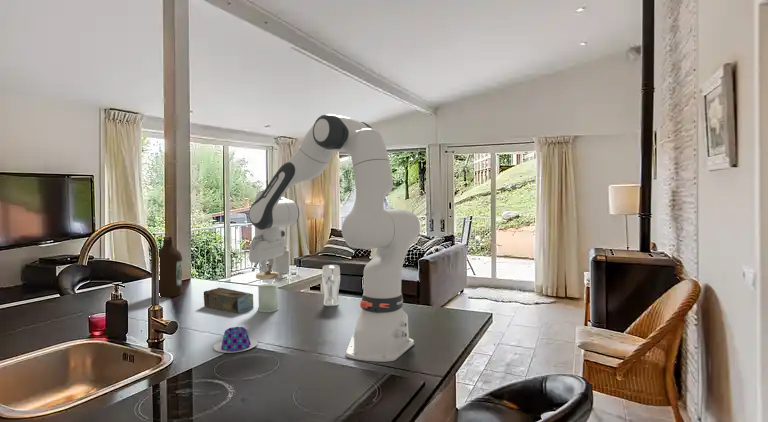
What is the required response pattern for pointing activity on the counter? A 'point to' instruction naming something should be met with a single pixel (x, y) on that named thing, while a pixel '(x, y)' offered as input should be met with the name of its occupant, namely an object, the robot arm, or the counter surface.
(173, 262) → the olive oil
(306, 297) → the counter surface
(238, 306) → the beverage carton
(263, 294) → the canister
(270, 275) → the lid
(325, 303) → the beer glass
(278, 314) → the counter surface
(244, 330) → the purple patterned hat
